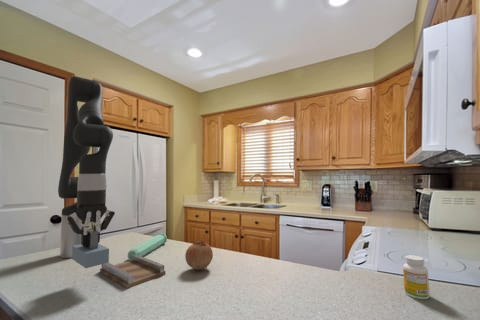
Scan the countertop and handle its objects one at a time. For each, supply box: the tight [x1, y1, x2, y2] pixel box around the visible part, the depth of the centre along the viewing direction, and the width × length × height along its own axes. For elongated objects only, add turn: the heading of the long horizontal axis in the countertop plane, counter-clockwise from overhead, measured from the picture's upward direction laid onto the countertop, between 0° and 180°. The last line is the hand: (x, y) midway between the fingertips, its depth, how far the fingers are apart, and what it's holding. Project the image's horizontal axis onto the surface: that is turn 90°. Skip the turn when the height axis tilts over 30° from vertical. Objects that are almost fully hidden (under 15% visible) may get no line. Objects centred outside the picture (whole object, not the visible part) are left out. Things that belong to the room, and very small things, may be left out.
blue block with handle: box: [71, 228, 110, 269], centre depth 73 cm, size 12×6×9 cm, turn 50°
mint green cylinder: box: [127, 232, 168, 261], centre depth 106 cm, size 6×6×25 cm
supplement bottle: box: [402, 254, 431, 300], centre depth 64 cm, size 5×5×10 cm
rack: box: [99, 254, 167, 289], centre depth 82 cm, size 20×13×3 cm, turn 50°
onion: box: [184, 240, 214, 271], centre depth 84 cm, size 10×9×10 cm
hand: (90, 245), depth 73 cm, fingers closed on blue block with handle
